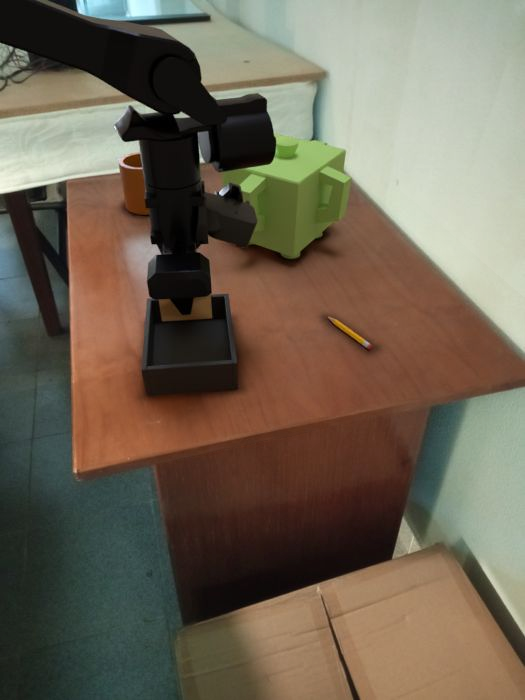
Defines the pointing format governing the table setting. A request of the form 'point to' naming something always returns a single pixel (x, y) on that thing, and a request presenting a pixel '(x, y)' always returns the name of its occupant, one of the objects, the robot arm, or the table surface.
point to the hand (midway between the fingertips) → (186, 302)
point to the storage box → (294, 193)
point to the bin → (189, 351)
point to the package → (199, 311)
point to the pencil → (351, 333)
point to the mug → (133, 183)
